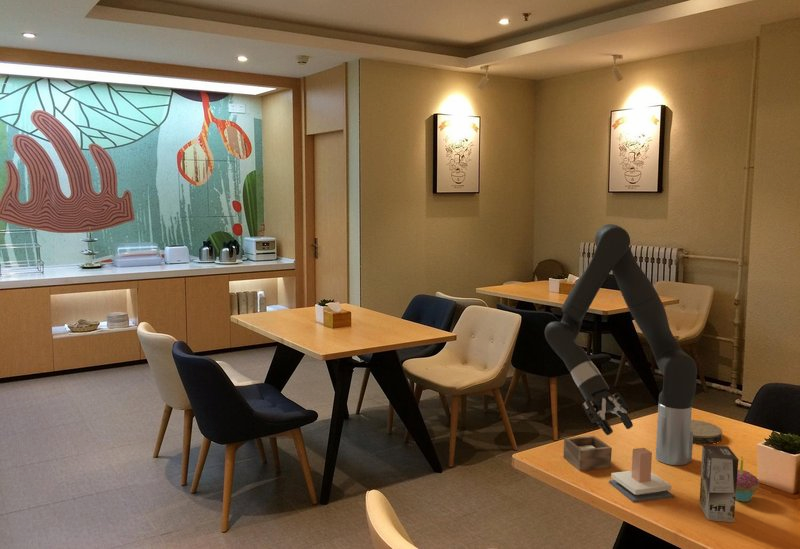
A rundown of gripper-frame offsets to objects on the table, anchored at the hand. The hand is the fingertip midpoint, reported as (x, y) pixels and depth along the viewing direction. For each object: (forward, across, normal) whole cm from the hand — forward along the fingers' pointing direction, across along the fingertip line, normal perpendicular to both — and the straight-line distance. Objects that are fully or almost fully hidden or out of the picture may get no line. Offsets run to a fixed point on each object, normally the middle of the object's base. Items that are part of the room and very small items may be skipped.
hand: (620, 430), depth 187 cm
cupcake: (+28, +18, -7) cm, 34 cm away
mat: (+15, 0, +5) cm, 16 cm away
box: (+1, +2, +19) cm, 20 cm away
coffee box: (+29, +5, -8) cm, 30 cm away
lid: (+15, 0, +5) cm, 15 cm away
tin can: (+5, +50, +17) cm, 52 cm away
